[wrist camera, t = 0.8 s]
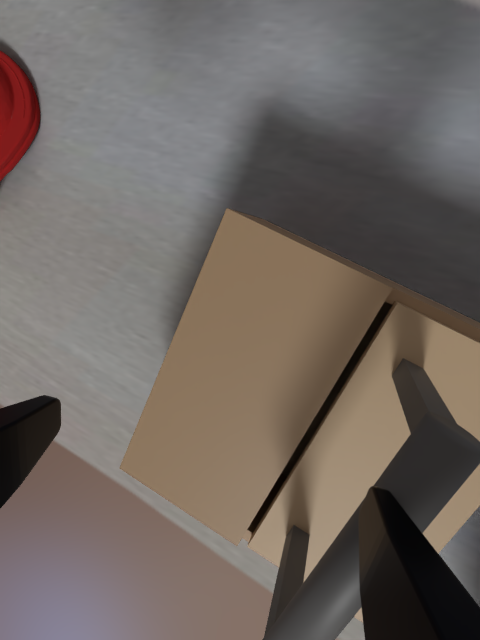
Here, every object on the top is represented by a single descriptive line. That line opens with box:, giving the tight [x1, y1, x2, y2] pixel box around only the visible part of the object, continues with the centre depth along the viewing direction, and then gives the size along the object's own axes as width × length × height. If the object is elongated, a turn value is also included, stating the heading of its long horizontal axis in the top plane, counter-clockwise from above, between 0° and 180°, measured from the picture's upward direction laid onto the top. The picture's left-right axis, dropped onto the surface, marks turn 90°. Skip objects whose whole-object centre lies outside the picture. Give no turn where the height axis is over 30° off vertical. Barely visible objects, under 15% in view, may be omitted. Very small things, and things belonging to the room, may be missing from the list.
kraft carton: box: [120, 208, 480, 546], centre depth 18 cm, size 14×14×7 cm
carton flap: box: [247, 301, 480, 640], centre depth 12 cm, size 6×13×7 cm, turn 155°
